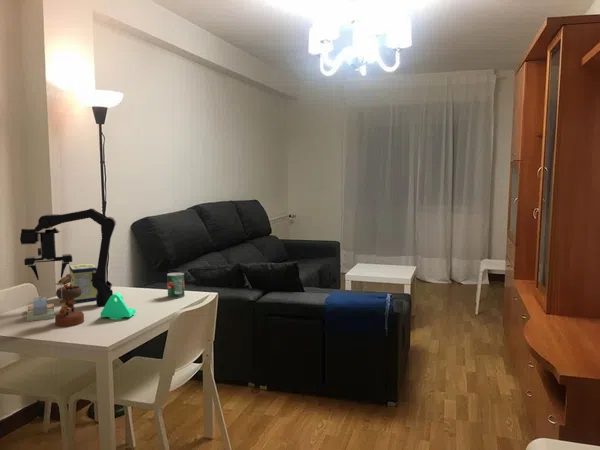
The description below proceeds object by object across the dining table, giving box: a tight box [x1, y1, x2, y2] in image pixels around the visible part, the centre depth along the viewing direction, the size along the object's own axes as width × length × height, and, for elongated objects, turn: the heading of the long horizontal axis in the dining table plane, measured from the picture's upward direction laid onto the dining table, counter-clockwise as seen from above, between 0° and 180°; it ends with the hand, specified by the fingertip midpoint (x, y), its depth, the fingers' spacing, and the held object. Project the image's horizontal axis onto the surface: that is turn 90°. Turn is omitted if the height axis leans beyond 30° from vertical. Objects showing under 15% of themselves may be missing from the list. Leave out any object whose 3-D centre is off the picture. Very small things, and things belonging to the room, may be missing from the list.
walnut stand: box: [27, 303, 55, 311], centre depth 225 cm, size 10×7×2 cm
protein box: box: [68, 262, 97, 304], centre depth 247 cm, size 10×16×16 cm
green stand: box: [26, 307, 55, 322], centre depth 216 cm, size 10×9×2 cm
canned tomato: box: [166, 271, 186, 299], centre depth 250 cm, size 8×8×11 cm
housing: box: [32, 296, 48, 315], centre depth 216 cm, size 7×5×6 cm
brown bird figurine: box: [54, 273, 85, 328], centre depth 208 cm, size 15×11×20 cm
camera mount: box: [100, 292, 137, 320], centre depth 216 cm, size 12×8×10 cm, turn 87°
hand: (49, 279), depth 229 cm, fingers open, 9 cm apart
